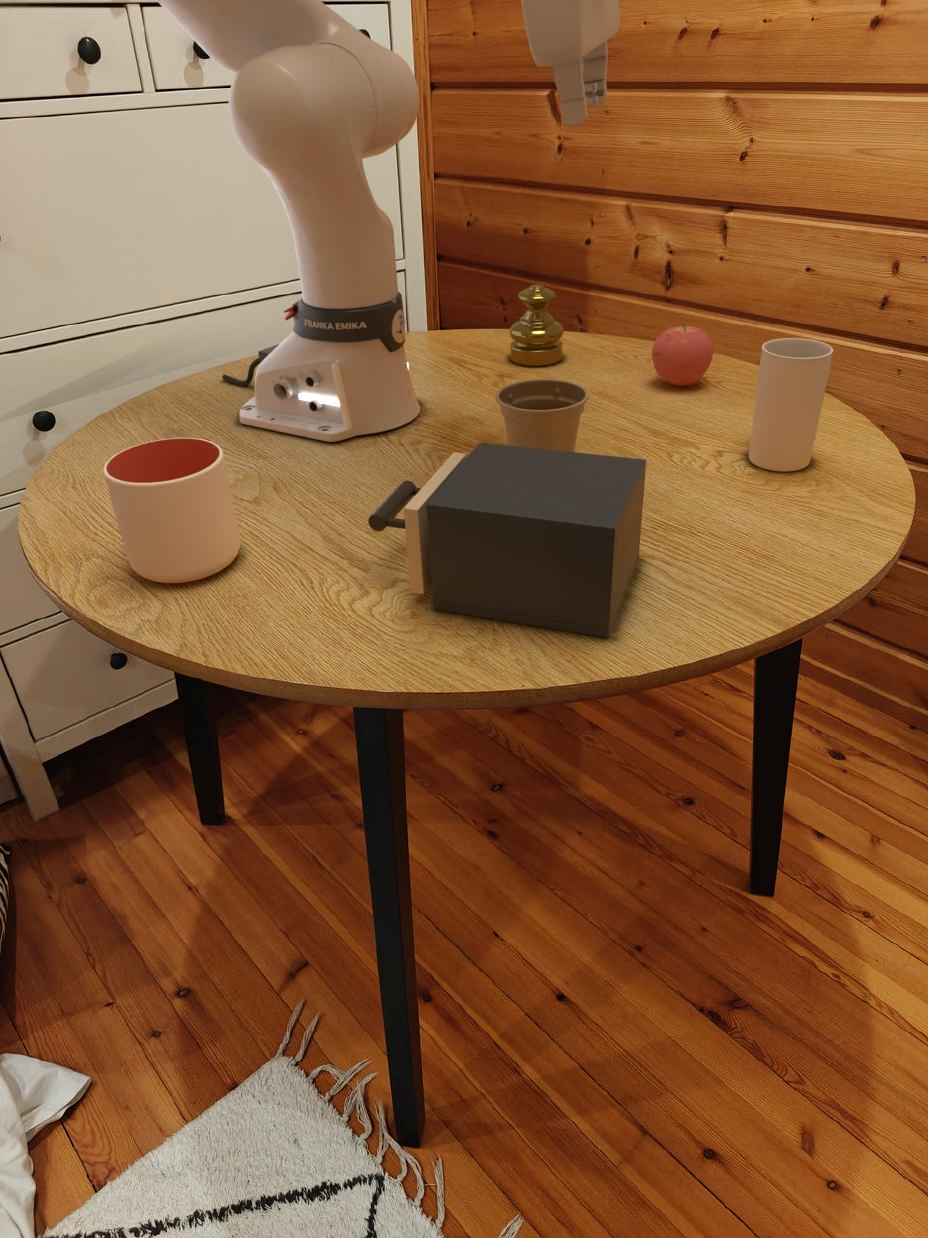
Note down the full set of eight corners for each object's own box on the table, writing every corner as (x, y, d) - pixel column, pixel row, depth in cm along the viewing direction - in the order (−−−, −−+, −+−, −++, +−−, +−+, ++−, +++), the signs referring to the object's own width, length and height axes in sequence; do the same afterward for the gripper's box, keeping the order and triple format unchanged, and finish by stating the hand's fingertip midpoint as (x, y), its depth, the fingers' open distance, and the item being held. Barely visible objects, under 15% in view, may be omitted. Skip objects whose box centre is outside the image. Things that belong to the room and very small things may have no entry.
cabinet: (433, 609, 74) (426, 504, 69) (482, 539, 84) (479, 442, 79) (608, 638, 70) (615, 528, 65) (638, 560, 80) (646, 459, 74)
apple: (676, 398, 113) (683, 333, 108) (639, 382, 118) (643, 320, 114) (721, 386, 116) (729, 323, 111) (682, 371, 121) (688, 310, 117)
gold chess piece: (511, 351, 131) (511, 279, 126) (562, 350, 131) (564, 278, 125) (508, 367, 125) (507, 293, 120) (562, 367, 124) (564, 292, 119)
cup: (144, 539, 87) (118, 441, 81) (248, 531, 87) (230, 433, 82) (119, 593, 78) (89, 488, 73) (235, 585, 79) (214, 479, 73)
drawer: (362, 585, 76) (352, 501, 72) (413, 524, 85) (407, 447, 81) (569, 617, 71) (571, 529, 66) (600, 549, 80) (604, 468, 75)
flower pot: (484, 485, 94) (482, 405, 89) (512, 450, 101) (511, 375, 96) (573, 496, 91) (575, 414, 86) (594, 459, 98) (598, 382, 93)
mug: (821, 471, 93) (844, 356, 87) (757, 475, 93) (775, 359, 87) (788, 434, 102) (806, 327, 95) (729, 437, 102) (743, 330, 95)
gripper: (556, -84, 77) (573, 99, 85) (495, -81, 62) (523, 142, 70) (630, -101, 75) (640, 88, 83) (586, -103, 60) (604, 130, 68)
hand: (586, 113), depth 76 cm, fingers open, 8 cm apart
